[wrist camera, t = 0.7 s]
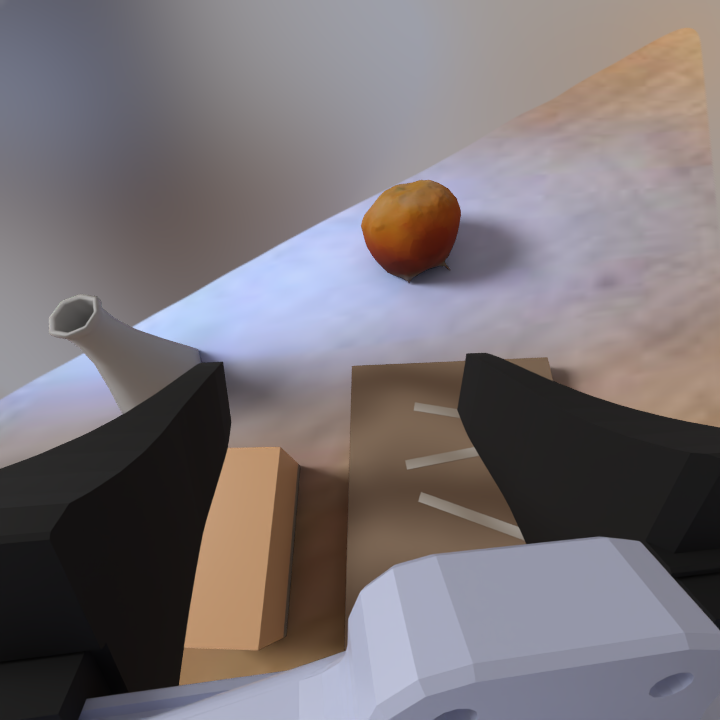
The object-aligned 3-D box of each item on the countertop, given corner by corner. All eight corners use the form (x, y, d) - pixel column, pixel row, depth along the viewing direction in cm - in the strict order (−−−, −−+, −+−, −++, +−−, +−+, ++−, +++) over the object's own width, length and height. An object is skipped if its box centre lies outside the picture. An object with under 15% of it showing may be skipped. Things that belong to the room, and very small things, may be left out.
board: (622, 720, 20) (637, 731, 18) (346, 705, 21) (342, 714, 20) (541, 367, 29) (547, 357, 28) (354, 374, 31) (351, 365, 30)
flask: (113, 429, 31) (-5, 374, 23) (132, 350, 35) (37, 276, 26) (200, 419, 31) (115, 359, 22) (210, 340, 34) (141, 261, 26)
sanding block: (287, 635, 23) (258, 650, 19) (215, 633, 24) (170, 647, 20) (301, 466, 28) (280, 446, 24) (240, 467, 29) (209, 448, 24)
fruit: (406, 309, 31) (373, 211, 27) (371, 285, 38) (340, 204, 34) (491, 265, 32) (471, 164, 28) (442, 250, 39) (420, 166, 35)
